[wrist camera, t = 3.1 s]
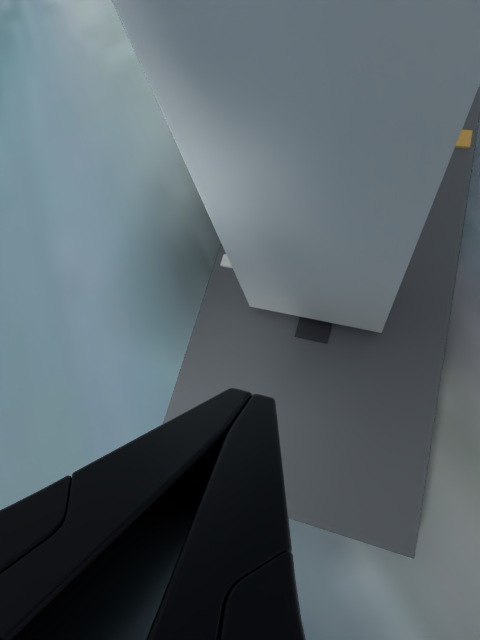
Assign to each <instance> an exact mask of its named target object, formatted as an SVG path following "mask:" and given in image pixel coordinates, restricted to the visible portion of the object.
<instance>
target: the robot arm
mask: <svg viewBox="0 0 480 640" xmlns="http://www.w3.org/2000/svg"><path fill="white" fill-rule="evenodd" d="M291 550H292V548H291V539H290V530H289V520H288V511H287V502H286V493H285V484H284V475H283V466H282V457H281V448H280V439H279V430H278V421H277V412H276V403H275V399H274V398H272V397H268V396H264V395H260V394H253V395H252V394H251V392H248V391H245V390H241V389H237V388H229V389H227V390H225V391H224V392H222V393H220V394H218V395H216V396H214V397H212V398H211V399H209V400H207V401H205V402H203V403H201V404H199V405H198V406H196V407H194V408H192V409H190V410H188V411H187V412H185V413H183V414H181V415H179V416H177V417H175V418H174V419H172V420H170V421H168V422H166V423H164V424H162V425H161V426H159V427H157V428H155V429H153V430H151V431H150V432H148V433H146V434H144V435H142V436H140V437H138V438H137V439H135V440H133V441H131V442H129V443H127V444H125V445H124V446H122V447H120V448H118V449H116V450H114V451H112V452H111V453H109V454H107V455H105V456H103V457H101V458H100V459H98V460H96V461H94V462H92V463H90V464H88V465H87V466H85V467H83V468H81V469H79V470H77V471H75V472H74V473H73V474H72V478H71V476H66V477H64V478H62V479H60V480H58V481H57V482H55V483H53V484H51V485H49V486H47V487H45V488H44V489H42V490H40V491H38V492H36V493H34V494H32V495H30V496H28V497H26V498H24V499H22V500H20V501H18V502H16V503H14V504H12V505H10V506H8V507H6V508H4V509H2V510H0V640H305V635H304V630H303V626H302V621H301V615H300V608H299V601H298V594H297V588H296V581H295V573H294V563H293V555H292V553H291Z"/></svg>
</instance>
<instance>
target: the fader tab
mask: <svg viewBox="0 0 480 640" xmlns="http://www.w3.org/2000/svg"><path fill="white" fill-rule="evenodd" d="M112 2H113V5H114V7H115V9H116V11H117V13H118V16H119V18H120V20H121V22H122V24H123V27H124V29H125V31H126V33H127V36H128V38H129V40H130V42H131V44H132V47H133V49H134V51H135V53H136V55H137V58H138V60H139V62H140V64H141V67H142V69H143V71H144V73H145V75H146V78H147V80H148V82H149V84H150V86H151V89H152V91H153V93H154V95H155V98H156V100H157V102H158V104H159V106H160V109H161V111H162V113H163V115H164V117H165V120H166V122H167V124H168V126H169V129H170V131H171V133H172V135H173V137H174V140H175V142H176V144H177V146H178V148H179V151H180V153H181V155H182V157H183V160H184V162H185V164H186V166H187V168H188V171H189V173H190V175H191V177H192V179H193V182H194V184H195V186H196V188H197V191H198V193H199V195H200V197H201V199H202V202H203V204H204V206H205V208H206V210H207V213H208V215H209V217H210V219H211V222H212V224H213V226H214V228H215V230H216V233H217V235H218V237H219V239H220V241H221V244H222V246H223V248H224V250H225V253H226V255H227V257H228V259H229V261H230V264H231V266H232V268H233V270H234V272H235V275H236V277H237V279H238V281H239V284H240V286H241V288H242V290H243V292H244V295H245V297H246V299H247V301H248V303H249V306H250V307H255V308H260V309H265V310H270V311H275V312H280V313H285V314H290V315H295V316H300V317H305V318H310V319H315V320H320V321H324V322H329V323H334V324H339V325H344V326H349V327H354V328H359V329H364V330H369V331H374V332H379V333H382V330H383V328H384V325H385V323H386V320H387V318H388V315H389V313H390V310H391V308H392V305H393V302H394V300H395V297H396V295H397V292H398V290H399V287H400V285H401V282H402V280H403V277H404V275H405V272H406V270H407V267H408V265H409V262H410V260H411V257H412V254H413V252H414V249H415V247H416V244H417V242H418V239H419V237H420V234H421V232H422V229H423V227H424V224H425V222H426V219H427V217H428V214H429V212H430V209H431V206H432V204H433V201H434V199H435V196H436V194H437V191H438V189H439V186H440V184H441V181H442V179H443V176H444V174H445V171H446V169H447V166H448V164H449V161H450V158H451V156H452V153H453V151H454V148H455V146H456V143H457V141H458V138H459V136H460V133H461V131H462V128H463V126H464V123H465V121H466V118H467V116H468V113H469V111H470V108H471V105H472V103H473V100H474V98H475V95H476V93H477V90H478V88H479V85H480V0H112Z"/></svg>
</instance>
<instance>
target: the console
mask: <svg viewBox="0 0 480 640" xmlns="http://www.w3.org/2000/svg"><path fill="white" fill-rule="evenodd" d="M479 116H480V85H479V88H478V90H477V93H476V95H475V98H474V100H473V103H472V105H471V108H470V111H469V113H468V116H467V118H466V121H465V123H464V126H463V128H462V131H461V133H460V136H459V138H458V141H457V143H456V146H455V148H454V151H453V153H452V156H451V158H450V161H449V164H448V166H447V169H446V171H445V174H444V176H443V179H442V181H441V184H440V186H439V189H438V191H437V194H436V196H435V199H434V201H433V204H432V206H431V209H430V212H429V214H428V217H427V219H426V222H425V224H424V227H423V229H422V232H421V234H420V237H419V239H418V242H417V244H416V247H415V249H414V252H413V254H412V257H411V260H410V262H409V265H408V267H407V270H406V272H405V275H404V277H403V280H402V282H401V285H400V287H399V290H398V292H397V295H396V297H395V300H394V302H393V305H392V308H391V310H390V313H389V315H388V318H387V320H386V323H385V325H384V328H383V330H382V333H379V332H374V331H369V330H364V329H359V328H354V327H349V326H344V325H339V324H334V323H329V322H324V321H320V320H315V319H310V318H305V317H300V316H295V315H290V314H285V313H280V312H275V311H270V310H265V309H260V308H255V307H250V306H249V303H248V301H247V299H246V297H245V295H244V292H243V290H242V288H241V286H240V284H239V281H238V279H237V277H236V275H235V272H234V270H233V268H232V266H231V264H230V261H229V259H228V257H227V255H226V253H225V250H224V248H223V246H222V244H221V245H220V248H219V251H218V254H217V257H216V260H215V263H214V267H213V270H212V273H211V276H210V279H209V282H208V285H207V288H206V292H205V295H204V298H203V301H202V304H201V307H200V310H199V313H198V316H197V320H196V323H195V326H194V329H193V332H192V335H191V338H190V341H189V344H188V348H187V351H186V354H185V357H184V360H183V363H182V366H181V369H180V372H179V376H178V379H177V382H176V385H175V388H174V391H173V394H172V397H171V400H170V404H169V407H168V410H167V413H166V416H165V419H164V422H163V424H164V423H166V422H168V421H170V420H172V419H174V418H175V417H177V416H179V415H181V414H183V413H185V412H187V411H188V410H190V409H192V408H194V407H196V406H198V405H199V404H201V403H203V402H205V401H207V400H209V399H211V398H212V397H214V396H216V395H218V394H220V393H222V392H224V391H225V390H227V389H229V388H237V389H241V390H245V391H248V392H251V394H252V395H253V394H260V395H264V396H268V397H272V398H274V399H275V403H276V412H277V421H278V430H279V439H280V448H281V457H282V466H283V475H284V484H285V493H286V502H287V511H288V518H290V519H293V520H296V521H300V522H303V523H306V524H309V525H312V526H315V527H318V528H321V529H324V530H327V531H330V532H333V533H337V534H340V535H343V536H346V537H349V538H352V539H355V540H358V541H361V542H364V543H367V544H370V545H373V546H377V547H380V548H383V549H386V550H389V551H392V552H395V553H398V554H401V555H404V556H407V557H410V558H414V556H415V550H416V543H417V536H418V529H419V522H420V516H421V509H422V502H423V495H424V489H425V482H426V475H427V468H428V461H429V455H430V448H431V441H432V434H433V428H434V421H435V414H436V407H437V401H438V394H439V387H440V380H441V373H442V367H443V360H444V353H445V346H446V340H447V333H448V326H449V319H450V313H451V306H452V299H453V292H454V285H455V279H456V272H457V265H458V258H459V252H460V245H461V238H462V231H463V225H464V218H465V211H466V204H467V197H468V191H469V184H470V177H471V170H472V164H473V157H474V150H475V143H476V136H477V130H478V123H479Z"/></svg>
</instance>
